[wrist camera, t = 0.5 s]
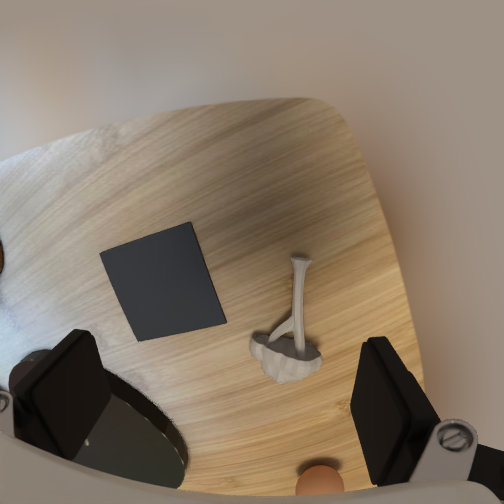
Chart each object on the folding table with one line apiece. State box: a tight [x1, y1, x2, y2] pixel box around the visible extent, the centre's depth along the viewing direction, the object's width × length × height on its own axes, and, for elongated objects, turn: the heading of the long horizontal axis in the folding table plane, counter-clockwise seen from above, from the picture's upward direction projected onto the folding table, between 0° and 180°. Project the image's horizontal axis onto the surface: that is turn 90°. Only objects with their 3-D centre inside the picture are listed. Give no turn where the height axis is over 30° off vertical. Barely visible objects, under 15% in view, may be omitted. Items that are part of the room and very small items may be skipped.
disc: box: [9, 350, 188, 489], centre depth 34 cm, size 30×30×3 cm
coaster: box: [99, 222, 227, 342], centre depth 28 cm, size 10×10×1 cm
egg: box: [296, 465, 344, 496], centre depth 30 cm, size 7×7×9 cm
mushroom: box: [249, 257, 323, 384], centre depth 26 cm, size 7×5×12 cm
